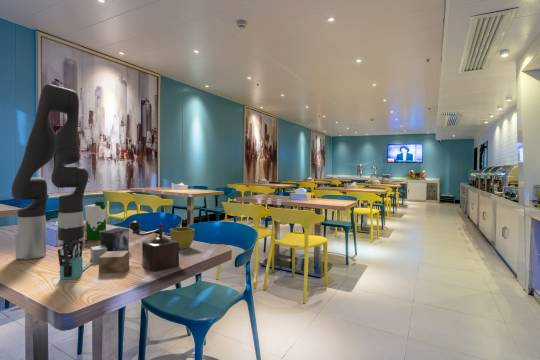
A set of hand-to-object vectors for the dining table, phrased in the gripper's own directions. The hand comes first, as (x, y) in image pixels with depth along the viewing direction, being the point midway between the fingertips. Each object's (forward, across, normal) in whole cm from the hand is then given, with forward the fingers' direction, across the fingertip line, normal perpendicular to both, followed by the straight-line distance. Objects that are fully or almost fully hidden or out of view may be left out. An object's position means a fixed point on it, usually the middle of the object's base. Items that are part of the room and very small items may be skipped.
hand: (71, 273), depth 105 cm
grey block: (-1, -17, +4) cm, 18 cm away
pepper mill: (+1, -6, +26) cm, 27 cm away
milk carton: (+1, -59, -12) cm, 60 cm away
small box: (+1, -28, +6) cm, 29 cm away
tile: (+1, -9, -2) cm, 9 cm away
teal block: (+1, 0, 0) cm, 1 cm away
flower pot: (+1, -34, +34) cm, 48 cm away
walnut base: (+1, -5, +12) cm, 13 cm away
